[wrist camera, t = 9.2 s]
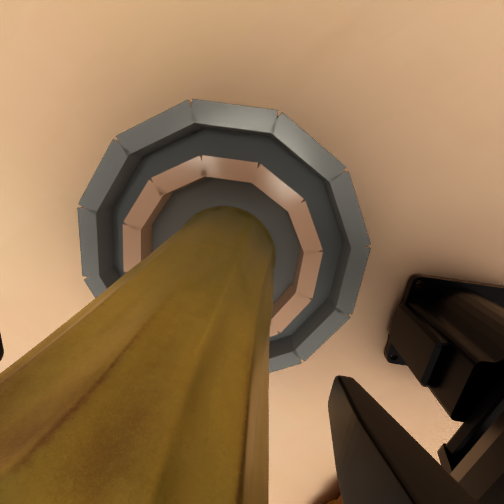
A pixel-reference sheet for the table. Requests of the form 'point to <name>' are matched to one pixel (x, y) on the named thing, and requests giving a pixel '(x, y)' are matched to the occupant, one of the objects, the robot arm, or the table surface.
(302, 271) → the grooved tray
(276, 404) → the table surface
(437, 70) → the table surface
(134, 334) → the vase
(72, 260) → the table surface
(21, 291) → the table surface
